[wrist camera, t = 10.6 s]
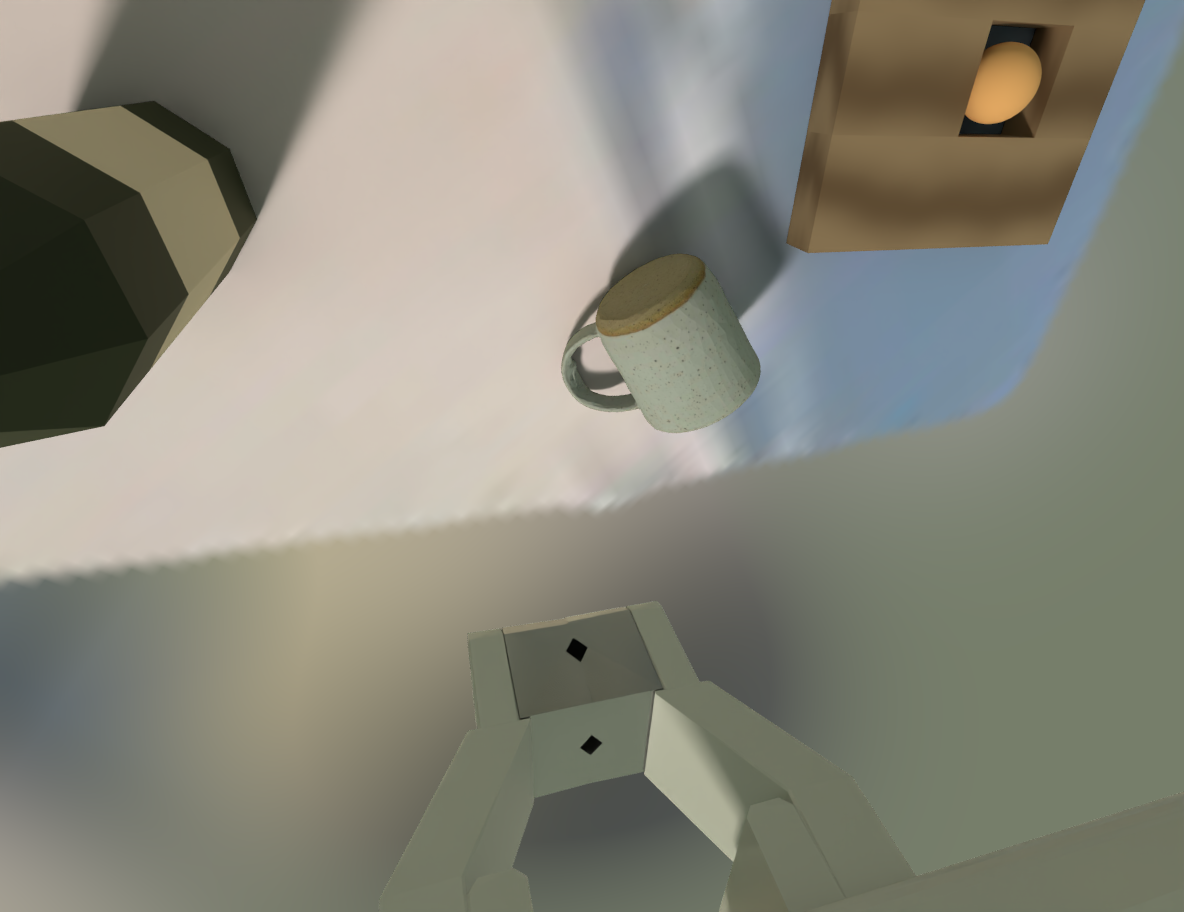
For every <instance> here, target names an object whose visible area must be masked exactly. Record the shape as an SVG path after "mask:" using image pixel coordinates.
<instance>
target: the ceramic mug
mask: <svg viewBox="0 0 1184 912" xmlns="http://www.w3.org/2000/svg"><path fill="white" fill-rule="evenodd" d="M595 337H600V338H601V341H602V343H603V345H604V347H605V349H606V351H607V353H608V354H609V356H610V358H611V359H612V361H613V362H614V364H615V365H616V367H617V369H618V370H619V372H620V374H621V375H622V377H623V379H624V381H625V383H626V385H627V387H628V389H629V391H630V392H631V394H628V395H620V396H606V395H601V394H598V393H595V392H593V391H591V390H590V389H589V388H588V387H586V386H585V384H584V382H583V381H582V379H581V377H580V375H579V373H578V371H577V368H576V366H577V364H576V362H575V361H574V360H573V359H572V358H571V356H572V354H573V353H574V352H575V350H576V348H578V347H580V346H581V345H582V344H584V343H585V342H587V341H590V340H592V339H593V338H595ZM760 372H761V371H760V362H759V359H758V357H757V355H756V353H755V351H754V350H753V348H752V346H751V344H750V343H749V341H748V339H747V337H746V335H745V333H744V331H743V329H742V327H741V325H740V323H739V321H738V319H737V317H736V316H735V314H734V312H733V310H732V308H731V307H730V305H729V303H728V301H727V299H726V297H725V295H724V292H723V290H722V288H721V286H720V285H719V283H718V281H717V279H716V278H715V277H714V275H713V274H712V273H711V271H710V270H709V269H708V267H707V266H706V265H705V263H704V262H703V261H702V260H700V259H699V258H697V257H695V256H692V255H688V254H672V255H668V256H664V257H660V258H658V259H655V260H653V261H650V262H648V263H647V264H645V265H643V266H641V267H639V268H637V269H636V270H634V271H633V272H631V273H630V274H628V275H627V276H625V277H624V278H623V279H621V280H620V281H619V282H618V283H617V284H616V285H615V286H613V287H612V288H611V289H610V291H609V292H608V293H607V294H606V295H605V297H604V298H603V300H602V301H601V303H600V305H599V308H598V311H597V315H596V322H595V323H593V324H590V325H587V326H585V327H583V328H582V329H581V330H580V331H579V332H577V333H576V334H575V335H574V336H573V337H572V338H571V339H570V341H569V342H568V344H567V346H566V348H565V351H564V355H563V358H562V364H561V373H562V376H563V380H564V383H565V385H566V387H567V388H568V390H569V392H570V393H571V394H572V396H573V397H574V398H575V399H576V400H577V401H578V402H580V403H581V404H583V405H584V406H586V407H589V408H592V409H595V410H598V411H605V412H623V411H629V410H635V409H640V410H641V411H642V413H643V415H644V417H645V418H646V420H647V421H648V423H649V424H651V425H652V426H653V427H654V428H655V429H657V430H660V431H663V432H668V433H682V432H689V431H693V430H697V429H700V428H704V427H707V426H709V425H711V424H713V423H715V422H718V421H719V420H721V419H723V418H725V417H726V416H728V415H729V414H731V413H732V412H734V411H735V410H736V409H737V408H739V407H740V406H741V405H742V404H743V403H744V402H745V401H746V400H747V399H748V398H749V396H750V395H751V394H752V393H753V391H754V390H755V388H756V386H757V384H758V381H759V378H760Z"/></svg>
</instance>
